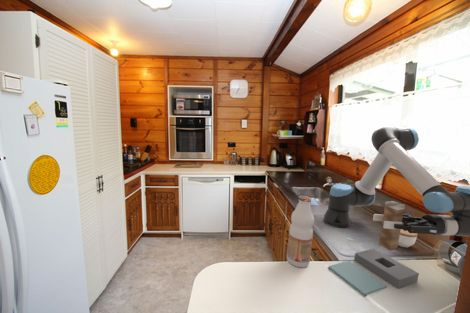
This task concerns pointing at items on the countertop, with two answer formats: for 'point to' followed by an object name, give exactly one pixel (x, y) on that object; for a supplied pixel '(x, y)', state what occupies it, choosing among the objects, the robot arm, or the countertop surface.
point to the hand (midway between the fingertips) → (379, 220)
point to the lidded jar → (407, 238)
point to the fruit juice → (301, 234)
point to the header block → (386, 268)
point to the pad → (357, 277)
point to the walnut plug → (391, 236)
